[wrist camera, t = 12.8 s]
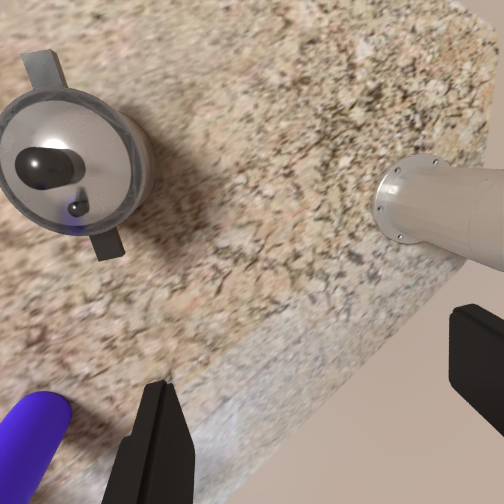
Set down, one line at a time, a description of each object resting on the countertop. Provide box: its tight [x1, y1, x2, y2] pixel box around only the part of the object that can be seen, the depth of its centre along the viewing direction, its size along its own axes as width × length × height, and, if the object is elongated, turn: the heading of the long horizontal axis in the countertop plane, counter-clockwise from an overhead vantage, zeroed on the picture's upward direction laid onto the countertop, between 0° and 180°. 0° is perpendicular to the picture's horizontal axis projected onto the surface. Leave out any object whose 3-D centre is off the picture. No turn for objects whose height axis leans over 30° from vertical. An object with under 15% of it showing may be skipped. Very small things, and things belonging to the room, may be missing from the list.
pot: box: [0, 49, 157, 261], centre depth 34 cm, size 14×20×9 cm
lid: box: [0, 101, 133, 226], centre depth 26 cm, size 11×11×6 cm
